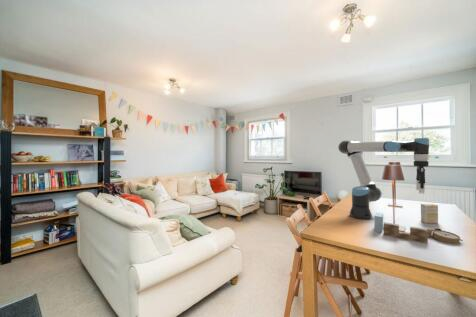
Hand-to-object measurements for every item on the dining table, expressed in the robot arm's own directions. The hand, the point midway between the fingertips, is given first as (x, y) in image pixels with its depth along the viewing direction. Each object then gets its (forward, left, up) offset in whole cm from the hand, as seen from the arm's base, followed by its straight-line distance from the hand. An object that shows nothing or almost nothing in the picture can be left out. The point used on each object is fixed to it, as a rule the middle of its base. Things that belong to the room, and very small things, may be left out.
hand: (420, 191), depth 139 cm
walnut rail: (-8, -31, -24) cm, 40 cm away
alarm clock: (+9, -19, -24) cm, 32 cm away
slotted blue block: (-21, -24, -24) cm, 40 cm away
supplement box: (+6, +14, -24) cm, 28 cm away
